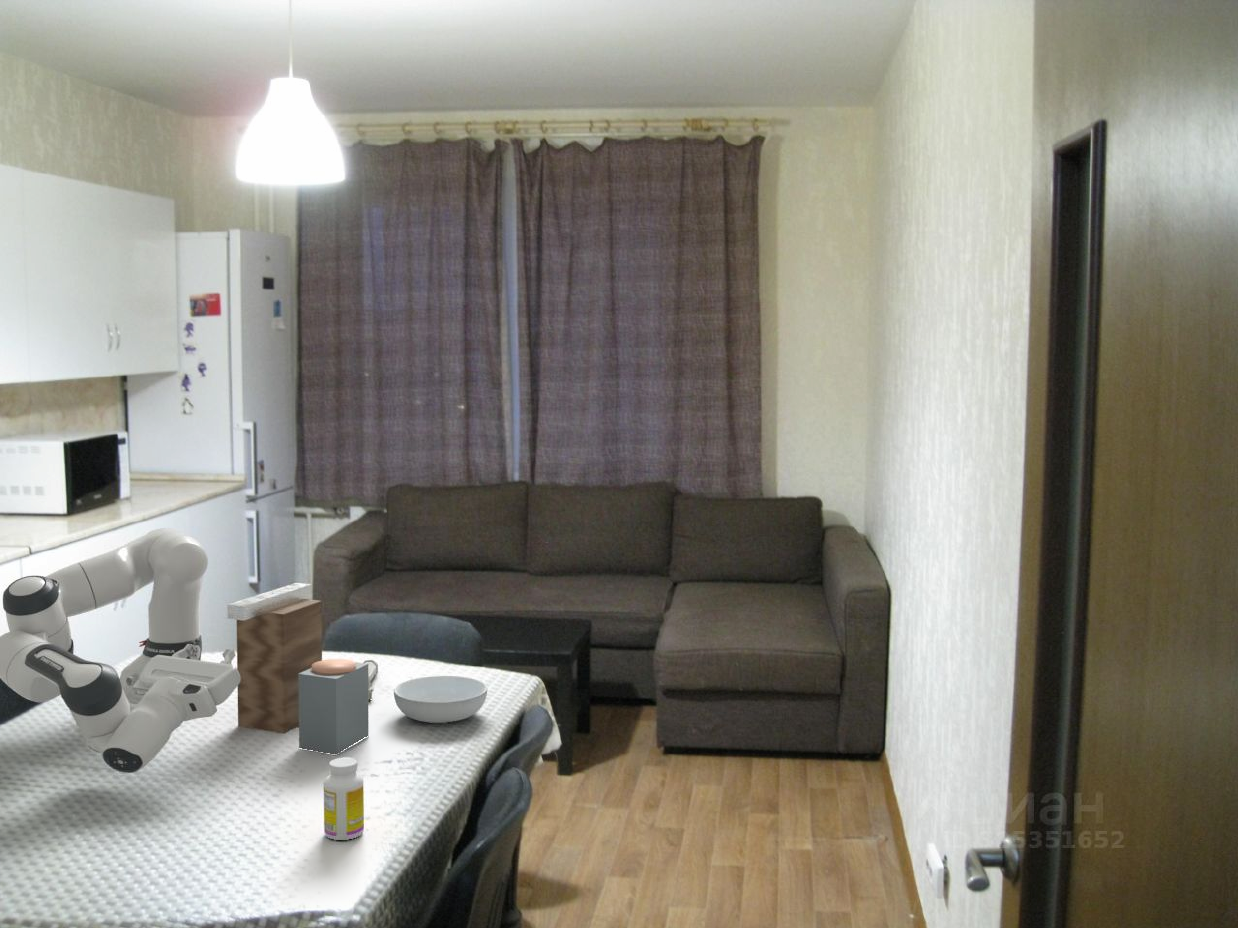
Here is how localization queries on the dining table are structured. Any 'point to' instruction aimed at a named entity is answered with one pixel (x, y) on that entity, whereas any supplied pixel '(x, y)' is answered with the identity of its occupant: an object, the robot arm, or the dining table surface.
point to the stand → (276, 664)
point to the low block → (333, 705)
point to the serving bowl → (440, 698)
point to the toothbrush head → (371, 675)
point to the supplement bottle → (343, 800)
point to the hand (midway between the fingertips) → (212, 648)
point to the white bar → (269, 601)
